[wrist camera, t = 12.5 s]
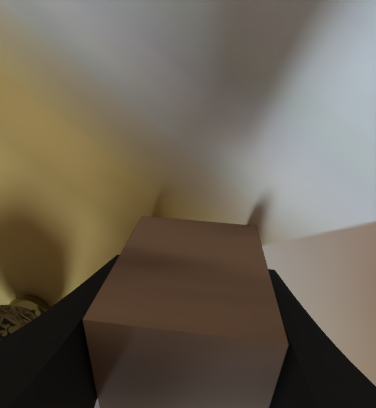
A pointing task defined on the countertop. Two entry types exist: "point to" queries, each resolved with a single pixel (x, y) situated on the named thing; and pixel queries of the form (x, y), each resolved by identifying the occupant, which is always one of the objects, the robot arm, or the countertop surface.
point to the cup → (19, 313)
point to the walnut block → (187, 320)
